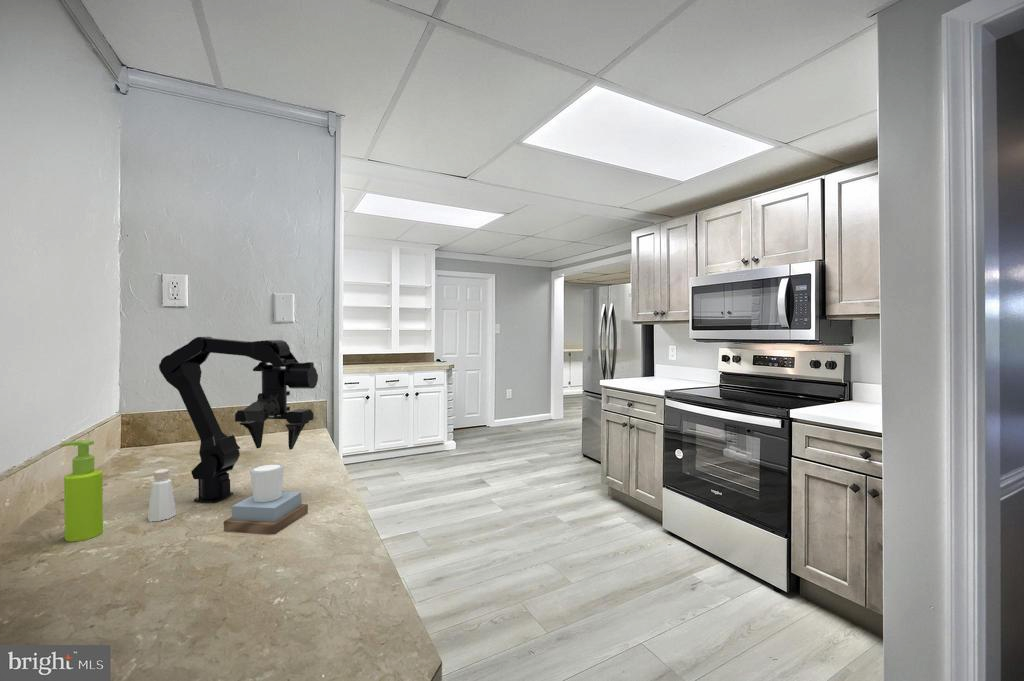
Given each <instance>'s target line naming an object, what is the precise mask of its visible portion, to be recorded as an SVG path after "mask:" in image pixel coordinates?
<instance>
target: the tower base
mask: <svg viewBox="0 0 1024 681" xmlns="http://www.w3.org/2000/svg"><path fill="white" fill-rule="evenodd" d="M308 507H309V504H308V503H301V506H299V507H297V508H296V509H294V510H293V511H291V512H290V513H288V514H286V515H285V516H283V517H282V518H280V519H279V520H277V521H275V522H264V521H245V520H232V516H231V517H229V518H227V519H225V520H224V521H223V532H233V533H244V534H245V533H246V534H257V533H258V534H259V535H270V534H275V535H276V534H278V533H280V532H281V531H282V530H284V529H285V528H287V527H288V525H289V526H290V525H292V524H293V523H295V522H296V521H298V520H299V519H301V518H303V517H305V516H306V515H307V514H309V508H308ZM280 530H281V531H280ZM277 532H278V533H277Z"/></svg>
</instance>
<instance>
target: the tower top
mask: <svg viewBox="0 0 1024 681" xmlns="http://www.w3.org/2000/svg"><path fill="white" fill-rule="evenodd" d="M301 504H302V492H301V491H282V496H281V498H279V499H276V500H274V501H269V502H255V501H254V497H253V495H251V496H249V497H247V498H245V499H244V500H241V501H239V502H237V503H236V504H234V505H232V506H231V517H232V520H245V521H264V522H275V521H277V520H279V519H280V518H282V517H283V516H285V515H286V514H288V513H290V512H291V511H293V510H294V509H296V508H297V507H299V506H301Z"/></svg>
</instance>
